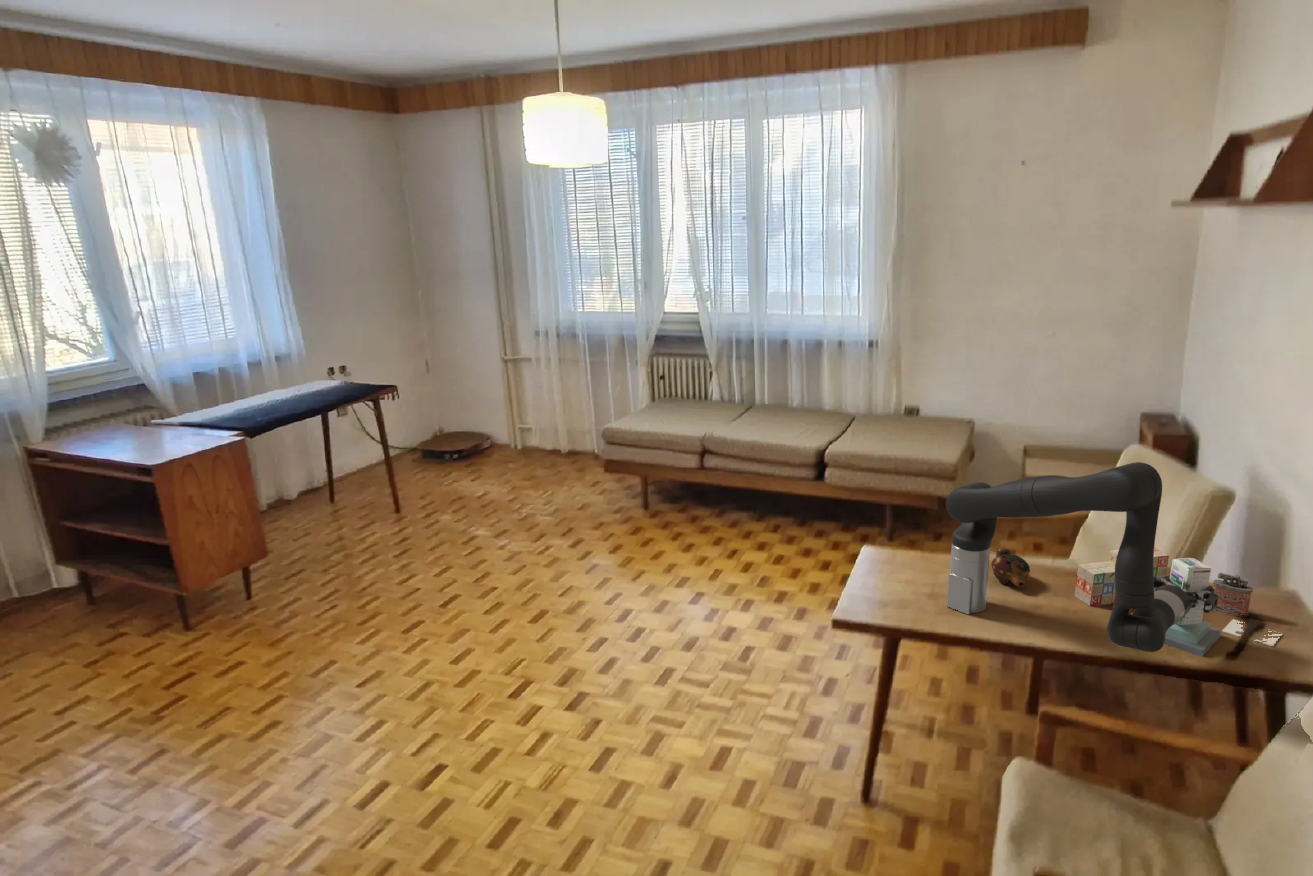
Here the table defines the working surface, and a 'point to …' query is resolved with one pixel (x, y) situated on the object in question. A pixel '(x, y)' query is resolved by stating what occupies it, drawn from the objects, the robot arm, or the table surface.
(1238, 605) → the lighter
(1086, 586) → the stack of blocks
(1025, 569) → the decorative turtle
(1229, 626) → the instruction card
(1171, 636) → the tower base
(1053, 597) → the table surface
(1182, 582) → the syrup box
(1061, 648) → the table surface
